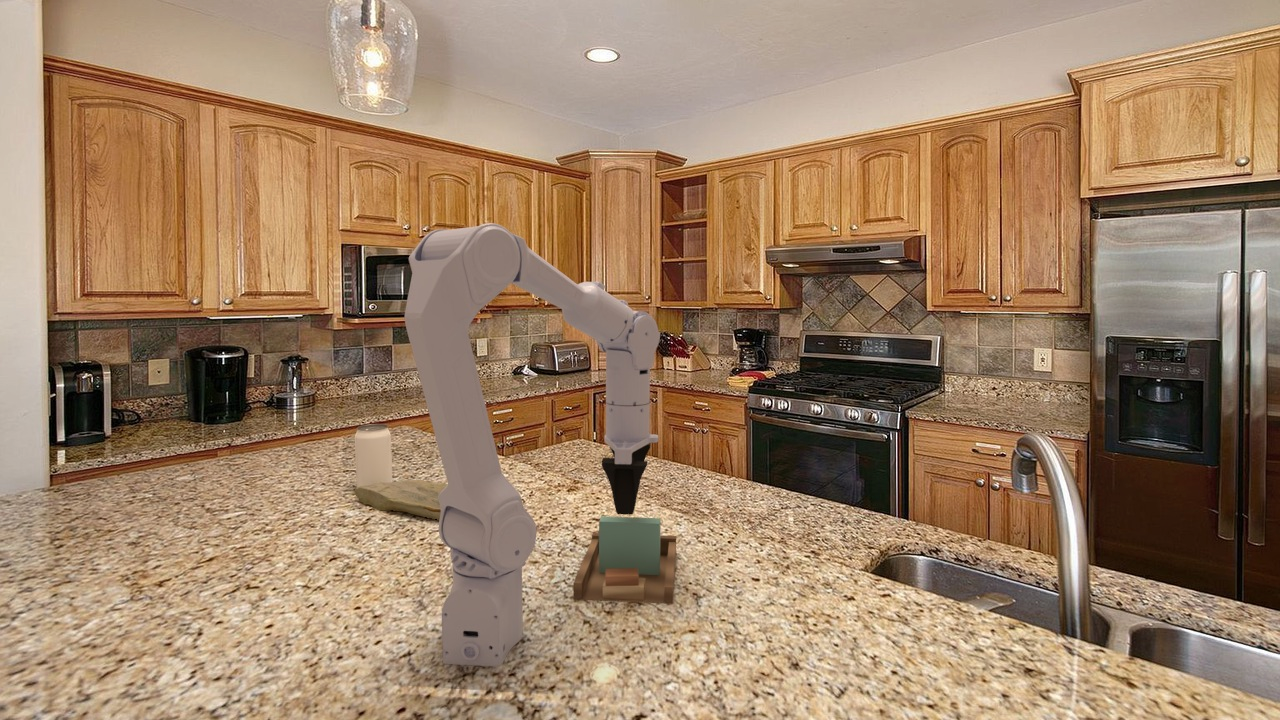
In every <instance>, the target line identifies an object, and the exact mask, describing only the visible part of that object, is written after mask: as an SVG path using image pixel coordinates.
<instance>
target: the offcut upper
mask: <svg viewBox="0 0 1280 720" xmlns="http://www.w3.org/2000/svg"><path fill="white" fill-rule="evenodd" d="M637 585H639V574H638V568H622V569H606V586H637Z"/></svg>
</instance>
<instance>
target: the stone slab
mask: <svg viewBox="0 0 1280 720" xmlns="http://www.w3.org/2000/svg"><path fill="white" fill-rule="evenodd" d="M447 485H448V483H444V482H435V481H429V480H424V479H406V480H400V481H399V480H398V481H392V482H379V483H376V484H373V485H365V486H360V487H357V486H356V487H355V488H354V491H353V492H354V494H355V497H356V498H357V499H358V501H359V502H360V503H362V504H363V505H370V506H371V507H373V508H374V509H375V510H377V511H383V512H391V511H390V510H393V511H392V512H404V513H408V514H410V515H415V516H420V517H422V518H425V517H427V518H426V519H429V518H432V519H431V520H435V519H437V520H436V521H439V519H440V514H441V508H440V502H439V499H438V495H439V494H440V493H441V491H442V490H443V489H444V488H445V487H446V486H447Z"/></svg>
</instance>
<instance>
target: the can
mask: <svg viewBox="0 0 1280 720" xmlns="http://www.w3.org/2000/svg"><path fill="white" fill-rule="evenodd" d="M354 454H355V455H354V456H355V477H356V478H355V481H356V482H355V483H356V488H357V487H360V486H365V485H373V484H376V483H379V482H393V458H392V435H391V431H390V430H389V425H387V424H384V423H371V424H363V425H360V426H359V425H358V426H357V427H356V433H355V435H354Z"/></svg>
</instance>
